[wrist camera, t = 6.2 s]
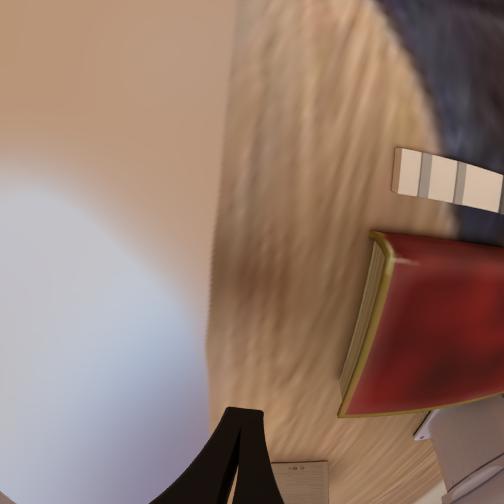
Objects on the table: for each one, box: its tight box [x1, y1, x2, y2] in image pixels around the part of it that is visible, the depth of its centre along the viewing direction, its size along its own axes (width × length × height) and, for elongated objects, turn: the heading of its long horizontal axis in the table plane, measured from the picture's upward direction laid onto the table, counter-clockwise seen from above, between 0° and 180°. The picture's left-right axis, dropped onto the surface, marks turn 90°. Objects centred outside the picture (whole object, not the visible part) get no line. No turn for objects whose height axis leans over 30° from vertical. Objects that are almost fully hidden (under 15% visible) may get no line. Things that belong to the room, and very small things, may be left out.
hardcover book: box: [337, 231, 504, 418], centre depth 15 cm, size 12×21×4 cm, turn 88°
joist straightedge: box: [391, 148, 504, 215], centre depth 13 cm, size 12×2×1 cm, turn 88°
